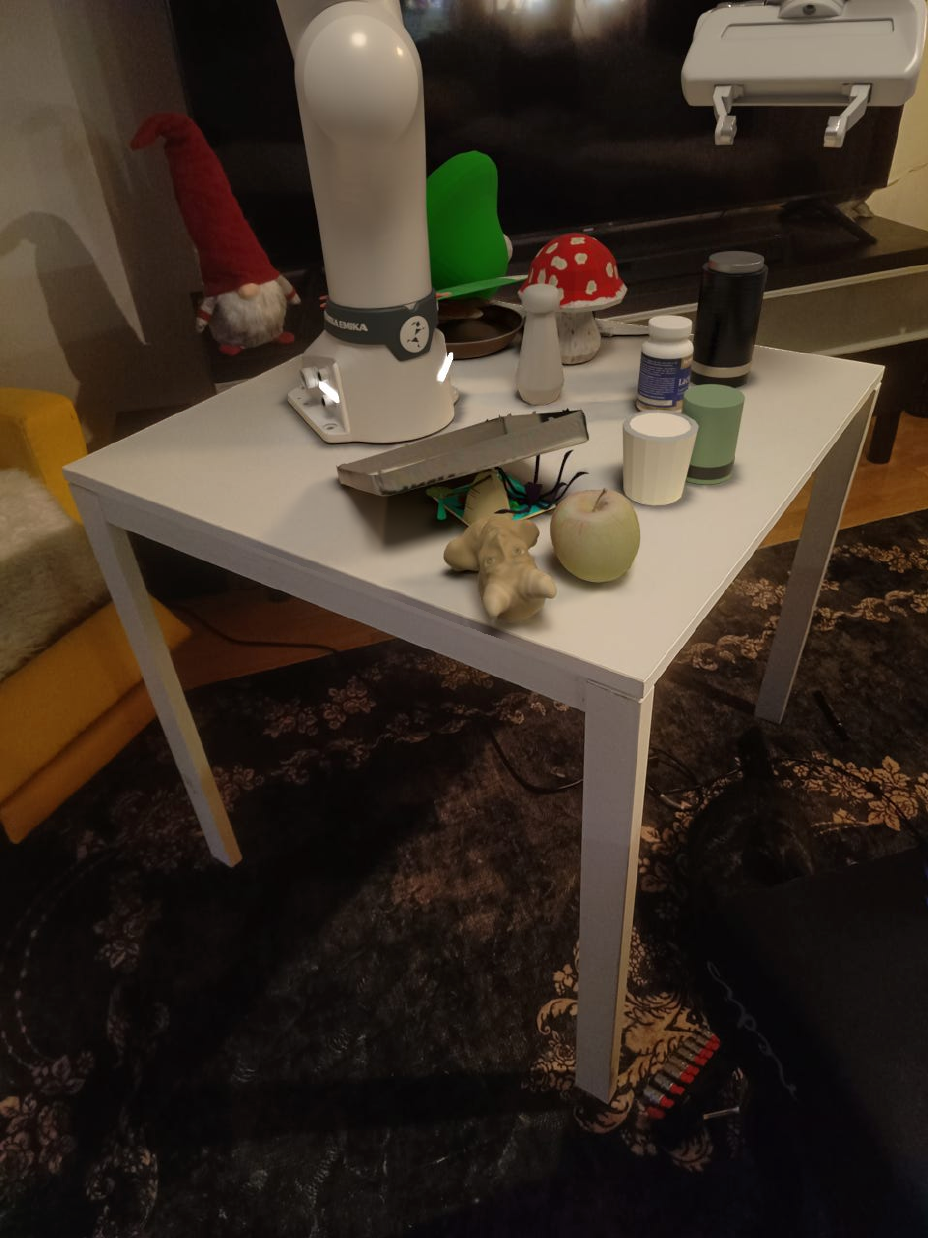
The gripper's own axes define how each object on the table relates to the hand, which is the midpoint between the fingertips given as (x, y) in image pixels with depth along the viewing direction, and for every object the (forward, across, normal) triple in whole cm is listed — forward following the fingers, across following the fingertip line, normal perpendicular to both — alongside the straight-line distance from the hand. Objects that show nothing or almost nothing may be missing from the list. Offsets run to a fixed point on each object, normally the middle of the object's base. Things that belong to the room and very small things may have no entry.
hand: (776, 141), depth 71 cm
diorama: (+38, -15, +1) cm, 40 cm away
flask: (+10, -4, +29) cm, 31 cm away
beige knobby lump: (+41, -13, -8) cm, 44 cm away
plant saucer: (+10, -41, +30) cm, 51 cm away
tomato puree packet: (+10, -45, +18) cm, 49 cm away
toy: (-9, -54, +30) cm, 62 cm away
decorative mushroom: (+10, -24, +29) cm, 39 cm away
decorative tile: (+40, -27, -8) cm, 49 cm away
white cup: (+32, -3, +7) cm, 33 cm away
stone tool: (+5, -37, +28) cm, 47 cm away
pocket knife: (+3, -22, +35) cm, 41 cm away
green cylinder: (+27, 0, +11) cm, 30 cm away
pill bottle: (+18, -8, +21) cm, 29 cm away
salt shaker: (+20, -22, +19) cm, 36 cm away
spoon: (+4, -32, +31) cm, 45 cm away
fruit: (+42, -4, -4) cm, 43 cm away
